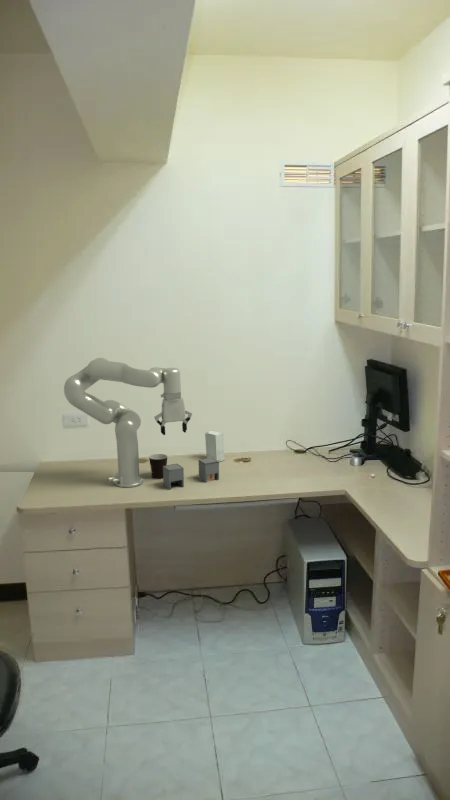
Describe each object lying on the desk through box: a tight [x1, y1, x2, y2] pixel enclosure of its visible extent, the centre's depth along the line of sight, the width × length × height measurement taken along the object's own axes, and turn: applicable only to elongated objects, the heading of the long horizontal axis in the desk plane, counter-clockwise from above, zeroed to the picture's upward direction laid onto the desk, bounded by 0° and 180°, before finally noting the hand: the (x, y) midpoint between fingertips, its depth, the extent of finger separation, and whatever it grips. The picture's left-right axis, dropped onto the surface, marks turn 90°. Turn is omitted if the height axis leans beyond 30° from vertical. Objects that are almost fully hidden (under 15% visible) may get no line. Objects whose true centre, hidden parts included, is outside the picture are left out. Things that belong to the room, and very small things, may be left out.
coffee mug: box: [148, 453, 168, 480], centre depth 275 cm, size 12×9×10 cm
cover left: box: [162, 463, 185, 491], centre depth 262 cm, size 7×7×9 cm
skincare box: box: [204, 430, 226, 463], centre depth 298 cm, size 8×6×15 cm
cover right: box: [198, 457, 220, 483], centre depth 270 cm, size 7×7×9 cm
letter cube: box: [207, 474, 216, 482], centre depth 271 cm, size 4×4×4 cm
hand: (174, 433), depth 261 cm, fingers open, 9 cm apart
